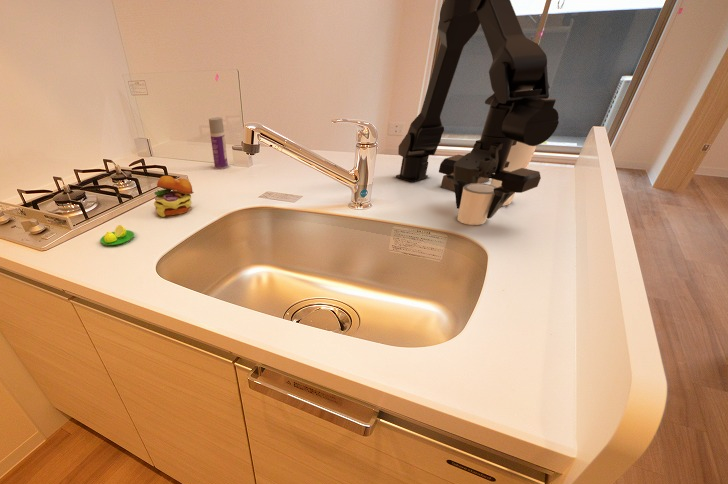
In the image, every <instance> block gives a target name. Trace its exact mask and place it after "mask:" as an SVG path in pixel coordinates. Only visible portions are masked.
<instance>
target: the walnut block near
mask: <svg viewBox="0 0 728 484" xmlns="http://www.w3.org/2000/svg"><path fill="white" fill-rule="evenodd" d="M446 176H447V174H443V176H442V179H441V184H440V188H443V189H446V190H449V191H453V192H455V189H454V184H453V183H452V181H451V180H450V179H448V178H447V177H446Z"/></svg>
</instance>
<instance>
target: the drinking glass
mask: <svg viewBox="0 0 728 484" xmlns="http://www.w3.org/2000/svg"><path fill="white" fill-rule="evenodd" d="M537 147H538V145H537V146H529V145H526V144H523V143H520V142H517V143H516V145H514V146H512V147H511V149H510V152H509V155H508V158H507V161H508V162H510V163H509V166H508V167H507V168H504V170H505V171H509V172H511V171H514V170H517V169H520V168H525V169H528V167H529V165H530V163H531V160H532V158H533V156H534V154H535V151H536V149H537ZM493 174H495V173H493ZM501 184H502V181H499V180H495V179H491V181H490V185H494V186H496V187H500V186H501ZM515 194H516V192H515V193H514V194H513V195H511V196H510V197H509V198H508V199H507V200H506V202H505V203H504V204H503V205H502V206H501V207H505V206H506V207H507V206H509V205H510V204H511V203H512V202H513V199H514V197H515Z"/></svg>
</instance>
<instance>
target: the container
mask: <svg viewBox="0 0 728 484" xmlns="http://www.w3.org/2000/svg"><path fill="white" fill-rule="evenodd" d="M208 124H209V125H208V127H209V133H210V135H209V136H210V142H211V148H212V149H211V150H212V156H213V163H214V168H215V170H223V169H228V167H229V164H228V155H227V154H228V153H227V146H226V137H225V128H224V122H223V117H220V116H217V117H211V118H208Z"/></svg>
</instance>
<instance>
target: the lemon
mask: <svg viewBox="0 0 728 484" xmlns="http://www.w3.org/2000/svg"><path fill="white" fill-rule="evenodd" d="M134 237H135V233H134V231H132V230H128V229H127V228H126V227H124V226H123V225H121V224H119V225H117V226H116V227H115V228H114V231H109V230H107V231H106V233H105V234H104V235H103V236H102V237H101V238H100V240H99V241H100V243H101V244H103V245H106V246H107V245H108V246H119V245H122V244H125V243H127V242H129V241H130V240H131V239H133V238H134Z"/></svg>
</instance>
